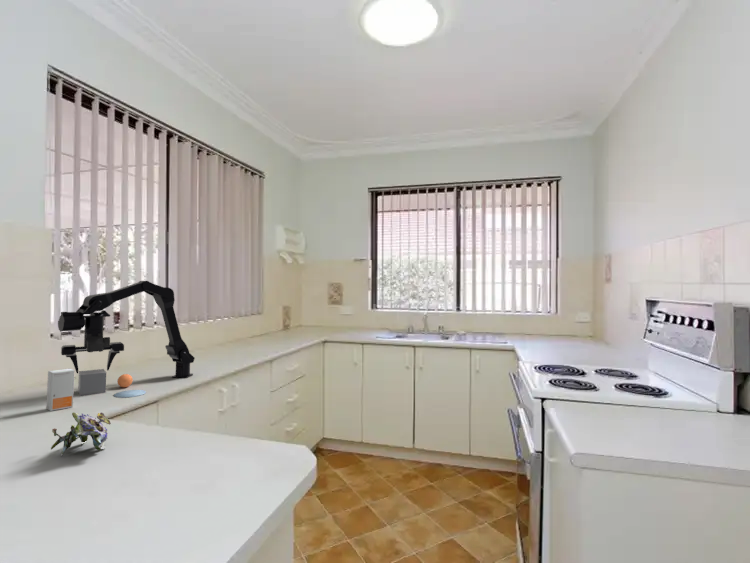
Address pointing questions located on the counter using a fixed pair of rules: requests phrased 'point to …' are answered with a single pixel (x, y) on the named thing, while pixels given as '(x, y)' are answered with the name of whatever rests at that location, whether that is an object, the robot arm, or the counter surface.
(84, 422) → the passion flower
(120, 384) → the ball
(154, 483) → the counter surface
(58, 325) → the robot arm
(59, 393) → the skincare box
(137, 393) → the disc
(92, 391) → the matte grey cuboid
